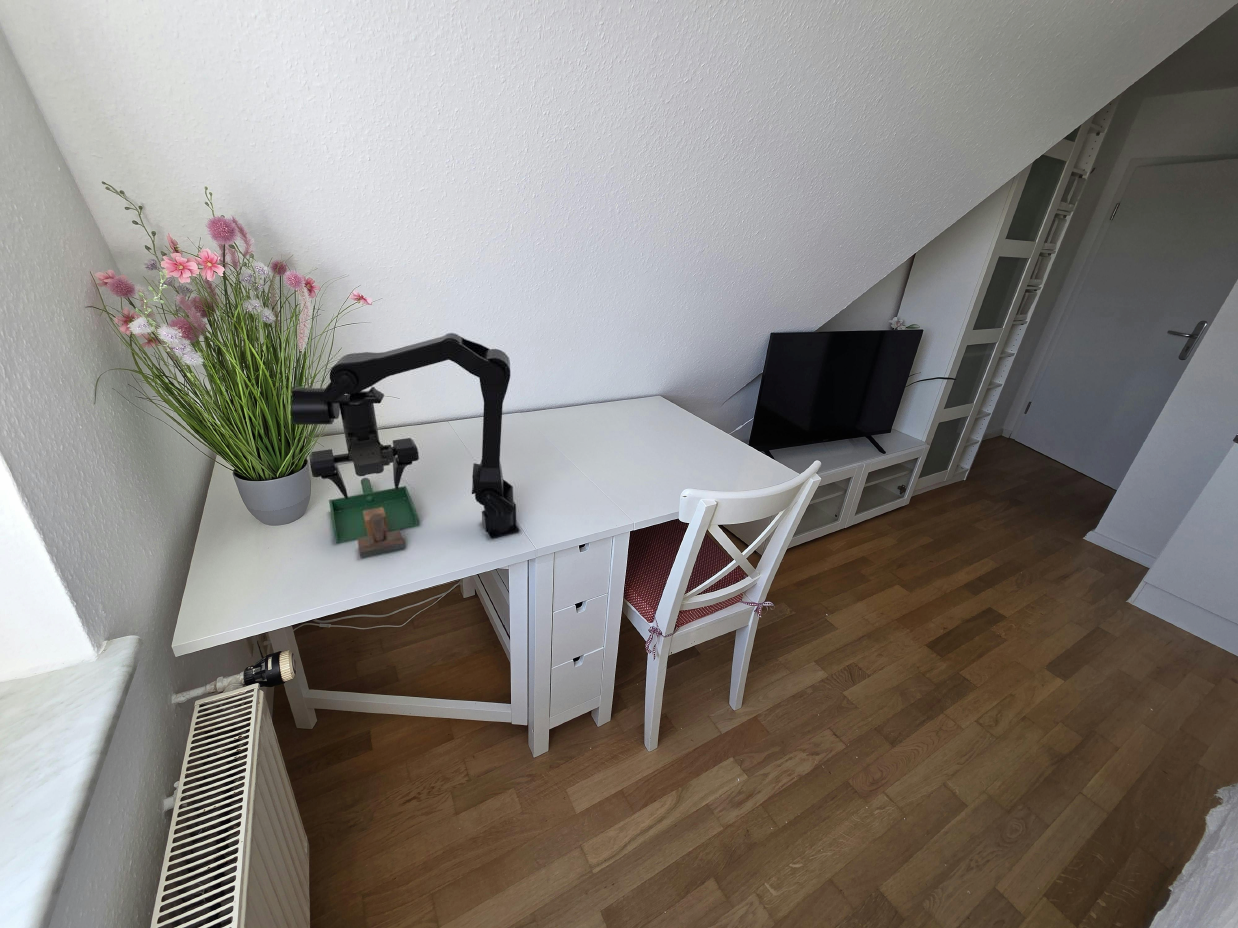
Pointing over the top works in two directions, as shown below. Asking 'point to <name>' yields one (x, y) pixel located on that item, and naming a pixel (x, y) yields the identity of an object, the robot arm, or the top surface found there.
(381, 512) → the brown wooden cube
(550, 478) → the top surface
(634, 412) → the top surface
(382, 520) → the brush
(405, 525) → the dustpan
